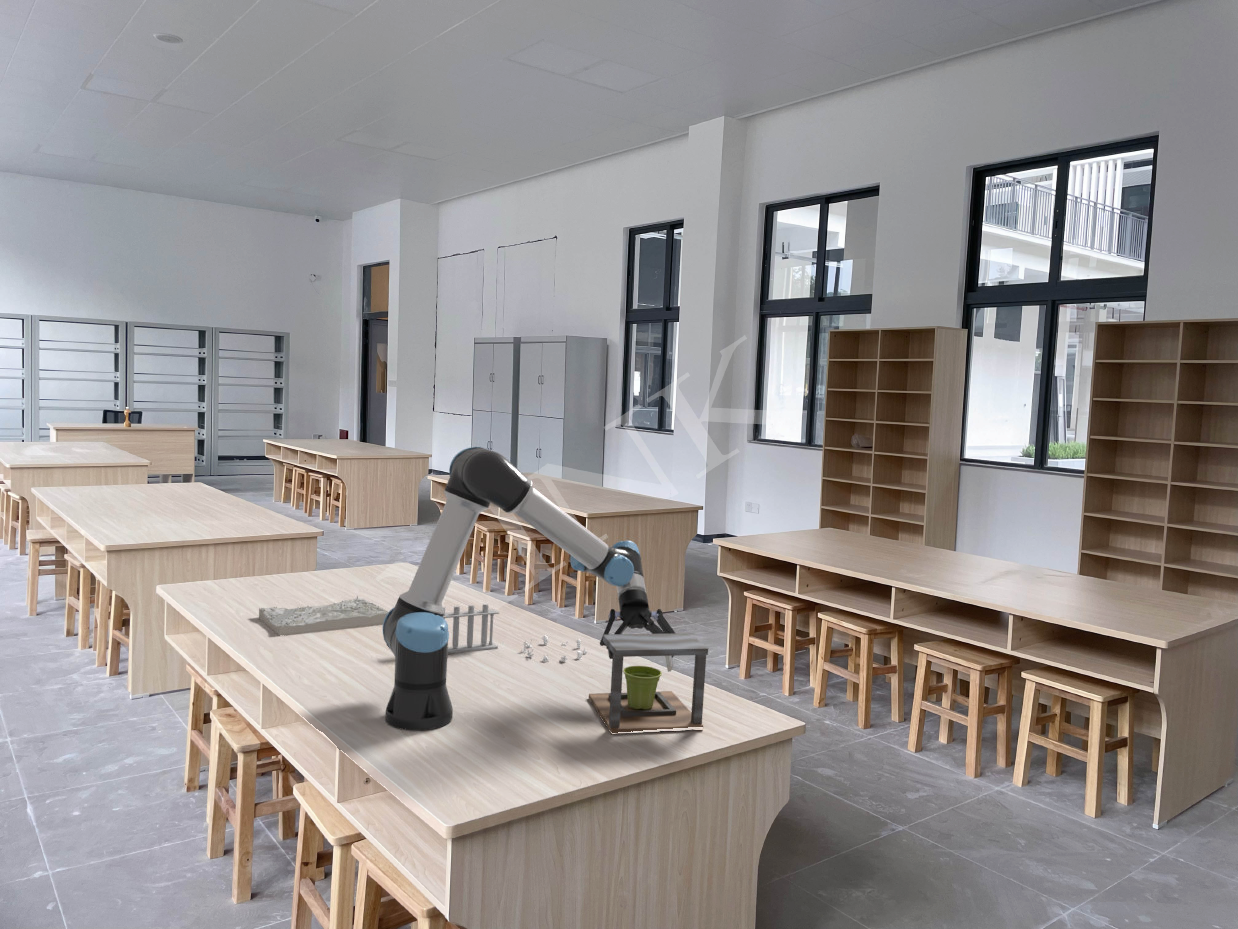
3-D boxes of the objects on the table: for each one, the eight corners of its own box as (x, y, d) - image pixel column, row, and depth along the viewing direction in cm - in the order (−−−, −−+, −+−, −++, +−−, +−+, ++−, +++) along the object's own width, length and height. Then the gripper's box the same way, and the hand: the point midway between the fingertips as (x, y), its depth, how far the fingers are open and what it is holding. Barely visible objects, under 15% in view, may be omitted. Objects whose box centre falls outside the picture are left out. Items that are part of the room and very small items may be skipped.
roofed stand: (588, 698, 224) (592, 622, 222) (671, 695, 229) (675, 621, 228) (611, 734, 201) (616, 650, 199) (703, 730, 206) (708, 648, 205)
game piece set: (521, 644, 270) (521, 631, 270) (586, 645, 272) (587, 633, 272) (520, 663, 251) (520, 650, 251) (590, 664, 253) (590, 651, 253)
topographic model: (389, 625, 283) (390, 610, 283) (279, 638, 263) (280, 621, 263) (363, 608, 302) (363, 594, 302) (258, 619, 282) (259, 603, 282)
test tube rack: (415, 657, 250) (417, 611, 249) (410, 653, 254) (412, 607, 253) (497, 649, 263) (499, 605, 262) (492, 645, 267) (494, 601, 266)
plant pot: (637, 696, 224) (639, 663, 223) (667, 706, 218) (669, 672, 217) (613, 705, 216) (615, 670, 216) (644, 715, 210) (646, 680, 210)
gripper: (674, 602, 237) (688, 675, 224) (582, 602, 231) (591, 677, 217) (681, 587, 231) (696, 661, 218) (588, 587, 225) (597, 663, 212)
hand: (644, 669), depth 218 cm, fingers open, 13 cm apart
